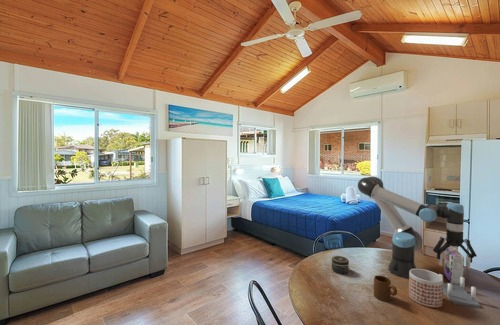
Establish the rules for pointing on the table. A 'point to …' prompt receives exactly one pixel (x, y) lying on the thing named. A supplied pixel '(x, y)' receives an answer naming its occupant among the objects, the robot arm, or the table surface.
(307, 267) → the table surface
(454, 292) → the tray
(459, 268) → the candy box
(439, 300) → the planter
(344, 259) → the jar
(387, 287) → the mug
